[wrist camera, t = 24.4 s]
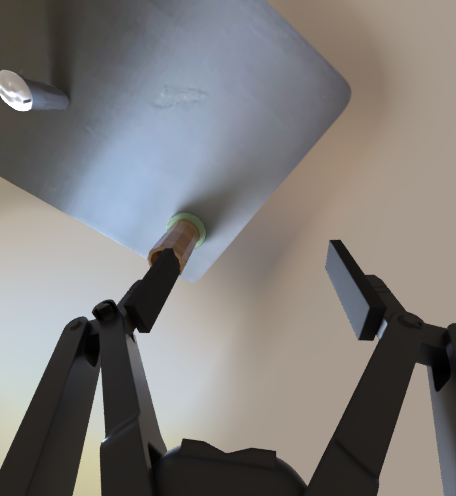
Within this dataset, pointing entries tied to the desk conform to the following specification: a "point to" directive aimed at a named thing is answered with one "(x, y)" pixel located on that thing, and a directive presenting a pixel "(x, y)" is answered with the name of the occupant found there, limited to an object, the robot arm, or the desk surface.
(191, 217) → the holder
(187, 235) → the tube
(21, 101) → the milkshake
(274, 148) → the desk surface
